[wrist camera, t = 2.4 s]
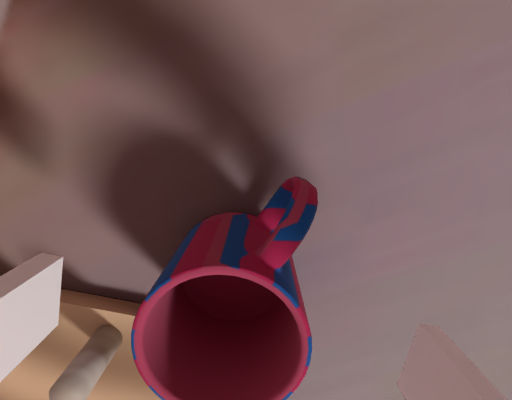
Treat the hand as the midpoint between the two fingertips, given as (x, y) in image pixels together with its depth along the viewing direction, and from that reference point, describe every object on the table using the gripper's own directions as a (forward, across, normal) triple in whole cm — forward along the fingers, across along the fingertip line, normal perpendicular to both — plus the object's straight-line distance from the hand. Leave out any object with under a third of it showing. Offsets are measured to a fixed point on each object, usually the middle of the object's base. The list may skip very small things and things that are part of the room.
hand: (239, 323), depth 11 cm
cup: (+7, 0, 0) cm, 7 cm away
